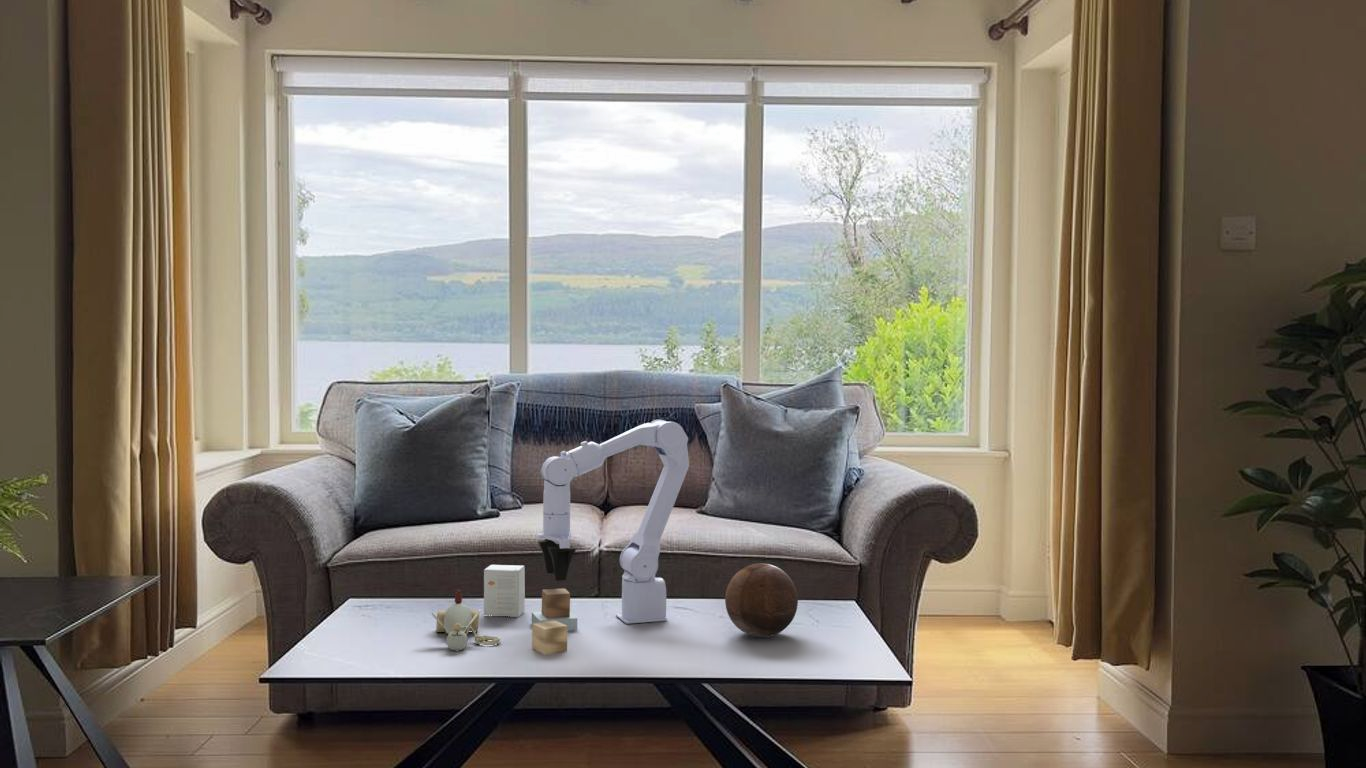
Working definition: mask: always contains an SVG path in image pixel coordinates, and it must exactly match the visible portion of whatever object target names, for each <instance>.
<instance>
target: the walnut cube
mask: <svg viewBox="0 0 1366 768" xmlns="http://www.w3.org/2000/svg"><path fill="white" fill-rule="evenodd" d="M541 611H542V614H543V615H544V616H545V618H563V617H570V612H571V593H570V592H569V591H568V590H567V589H566V588H551V589H550V588H547V589H542V590H541Z"/></svg>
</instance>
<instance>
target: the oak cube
mask: <svg viewBox="0 0 1366 768" xmlns="http://www.w3.org/2000/svg"><path fill="white" fill-rule="evenodd" d="M531 625H532V628H531V629H532V630H531V631H532V632H531V634H532V635H531V636H532V637H531V638H532V639H531V640H532V641H531V644H532V645H531V649H532V650H534V649H535V650H534V651H536V652H539V653H540V654H543V655H544V656H545V655H551V654H555V653H556V654H558V653H562V652H567V651H568V631H567V625H564V624H562V623H560V622H558V621H555V620H554V621H547V622H541V623H534V624H532V623H531Z"/></svg>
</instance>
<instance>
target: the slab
mask: <svg viewBox="0 0 1366 768" xmlns="http://www.w3.org/2000/svg"><path fill="white" fill-rule="evenodd" d="M554 620H555V621H558V622H560V623H562V624H564V625H567V632H568V631H569V630H570V631H578V617H577V616H576V615H575V614H574V613H573V612H571V611H570V617H563V618H545V616H544V615H543V614H542V610H541V611H531V625H532V624H534V623H541V622H547V621H554ZM570 631H569V632H570Z"/></svg>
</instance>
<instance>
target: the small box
mask: <svg viewBox="0 0 1366 768" xmlns="http://www.w3.org/2000/svg"><path fill="white" fill-rule="evenodd" d="M525 573H526V571H525V565H513V564H511V565H509V564H490V565H489V566H487V567H486V568H485V569H483V616H484V615H488V616H487V617H492V616H508V617H507V618H519V617H521V615H523V613H524V612H525V609H526V603H525V602H526V599H525V598H526V595H525V593H526V591H525V590H526V589H525V584H526V583H525V582H526V581H525V579H526V578H525V576H526V575H525ZM489 615H490V616H489ZM491 615H492V616H491ZM509 616H510V617H509Z"/></svg>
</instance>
